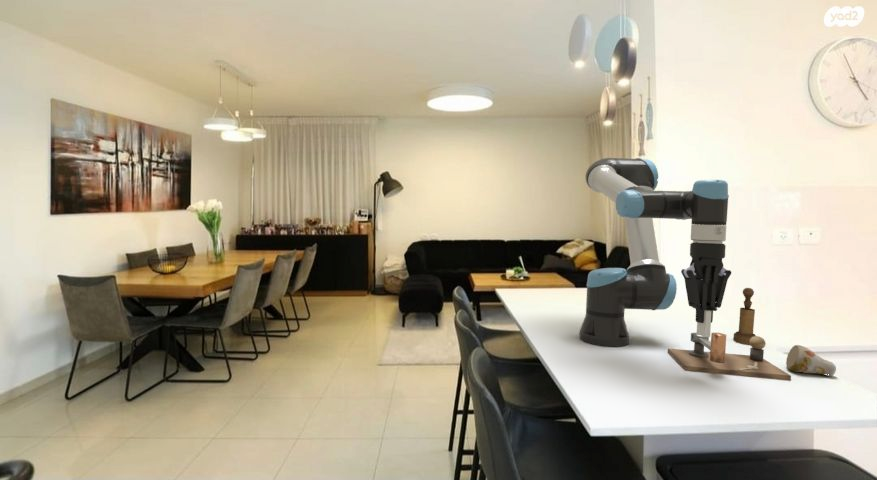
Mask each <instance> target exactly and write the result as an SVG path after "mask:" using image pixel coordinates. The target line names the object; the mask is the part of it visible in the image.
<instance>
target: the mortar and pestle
mask: <svg viewBox="0 0 877 480" xmlns="http://www.w3.org/2000/svg"><path fill="white" fill-rule="evenodd" d="M742 294H743V296H744V298H745V299H744V300H743V306H744V307H740V308H739V321H738V331H736V332H734V333H733V336H732V337H733V341H734V342H735V341H736V343H738V342H740V344H742V343H744V345H749V344H750V339H751V338H752V337H754V336H757V335H756V334H755V333H754V325H755V311H756V309H755V308H751V306H752V304H753V302H752V301H751V299H752V297H753V296H754V295H755V291H754V290H753V288H751V287H745V288H743V290H742Z"/></svg>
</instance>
